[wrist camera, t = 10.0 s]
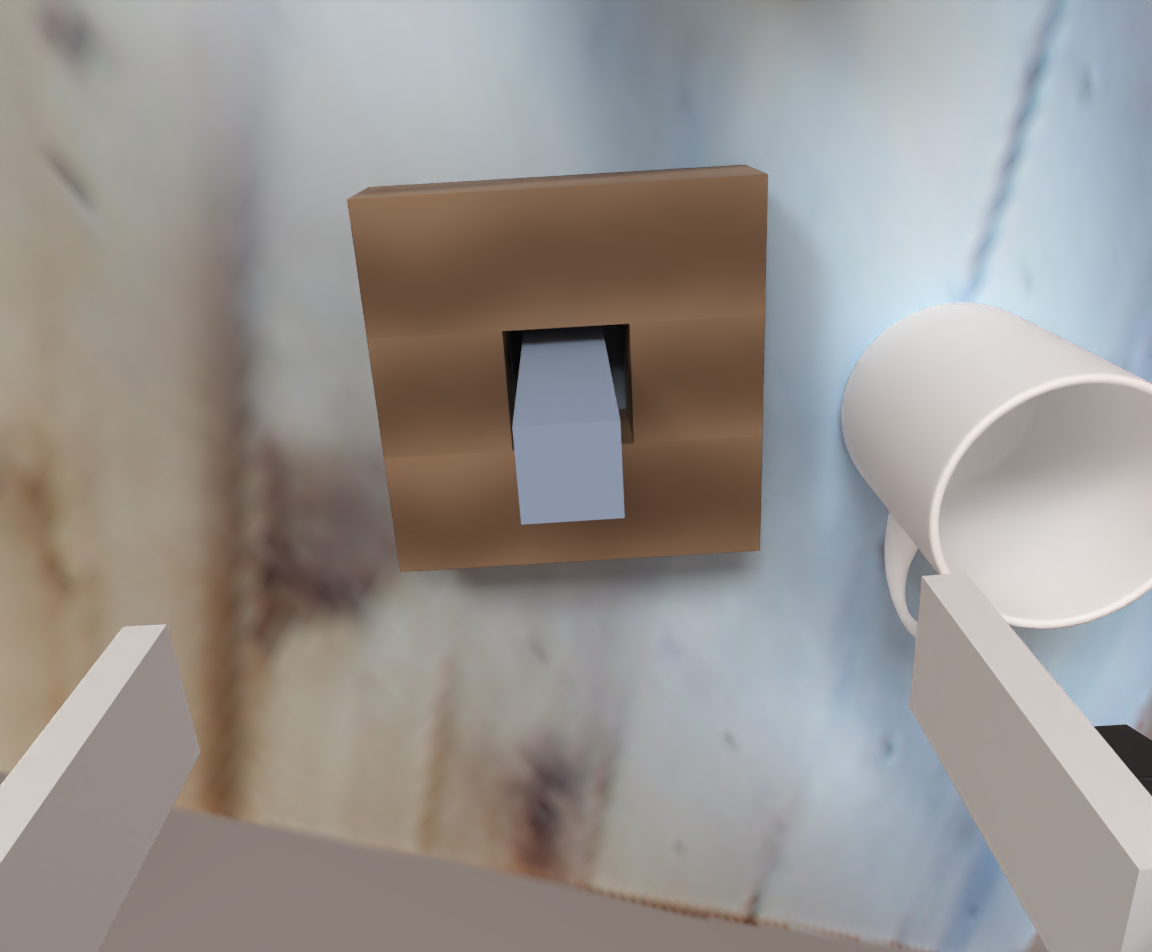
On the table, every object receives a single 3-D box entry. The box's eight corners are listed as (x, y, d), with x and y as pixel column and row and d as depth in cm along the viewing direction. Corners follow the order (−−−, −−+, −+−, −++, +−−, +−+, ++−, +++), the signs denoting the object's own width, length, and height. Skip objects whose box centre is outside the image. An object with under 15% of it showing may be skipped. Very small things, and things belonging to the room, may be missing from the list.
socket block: (368, 187, 35) (347, 199, 32) (745, 164, 35) (767, 174, 32) (414, 527, 41) (400, 571, 37) (741, 507, 41) (760, 550, 37)
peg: (524, 324, 38) (512, 426, 26) (600, 319, 38) (620, 420, 26) (530, 397, 39) (520, 524, 28) (604, 392, 39) (624, 518, 28)
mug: (771, 534, 41) (840, 677, 31) (889, 268, 37) (1012, 336, 27) (949, 586, 42) (1069, 739, 33) (1084, 334, 38) (1270, 423, 28)
